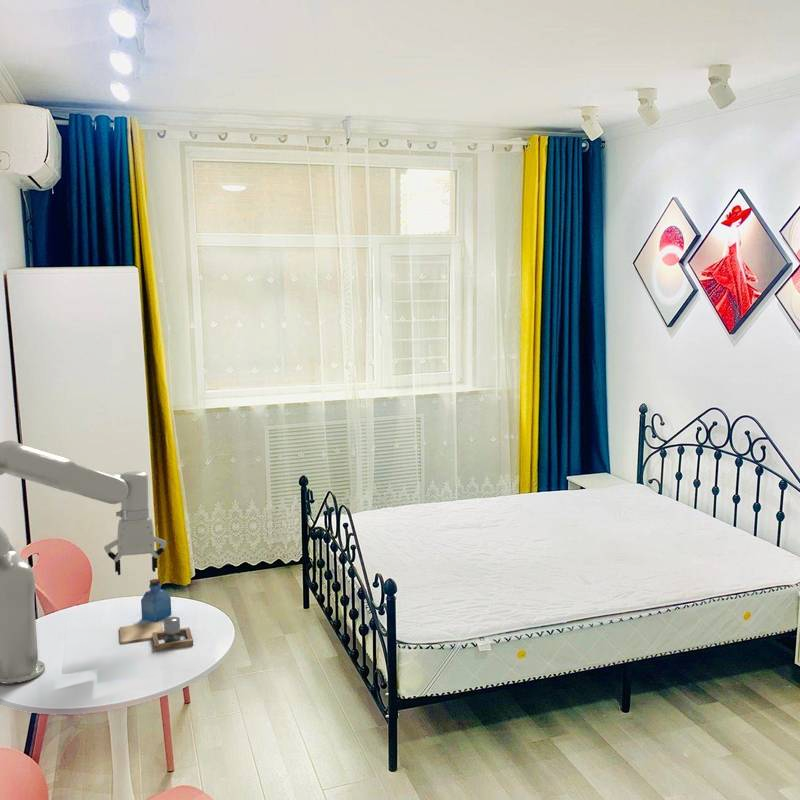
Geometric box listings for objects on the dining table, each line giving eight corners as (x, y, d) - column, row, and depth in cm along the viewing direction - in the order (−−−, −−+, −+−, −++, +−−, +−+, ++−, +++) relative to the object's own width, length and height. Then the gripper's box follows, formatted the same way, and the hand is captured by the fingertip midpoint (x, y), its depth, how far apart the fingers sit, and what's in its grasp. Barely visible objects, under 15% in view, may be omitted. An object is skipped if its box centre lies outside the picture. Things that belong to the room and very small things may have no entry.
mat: (120, 644, 230) (120, 641, 230) (119, 629, 241) (119, 627, 241) (164, 637, 234) (164, 635, 234) (161, 623, 245) (161, 621, 245)
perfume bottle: (171, 616, 250) (169, 579, 249) (155, 623, 245) (153, 585, 244) (157, 613, 254) (155, 576, 252) (142, 619, 248) (140, 581, 247)
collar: (154, 651, 224) (154, 646, 224) (152, 637, 234) (152, 632, 234) (193, 645, 228) (193, 640, 228) (189, 632, 237) (189, 627, 237)
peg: (165, 645, 228) (164, 623, 227) (164, 640, 232) (163, 618, 231) (181, 643, 229) (180, 621, 229) (179, 637, 234) (178, 615, 233)
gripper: (103, 519, 227) (105, 579, 229) (167, 514, 233) (168, 572, 235) (103, 514, 234) (104, 571, 236) (165, 509, 240) (166, 565, 242)
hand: (136, 572), depth 235 cm, fingers open, 9 cm apart
